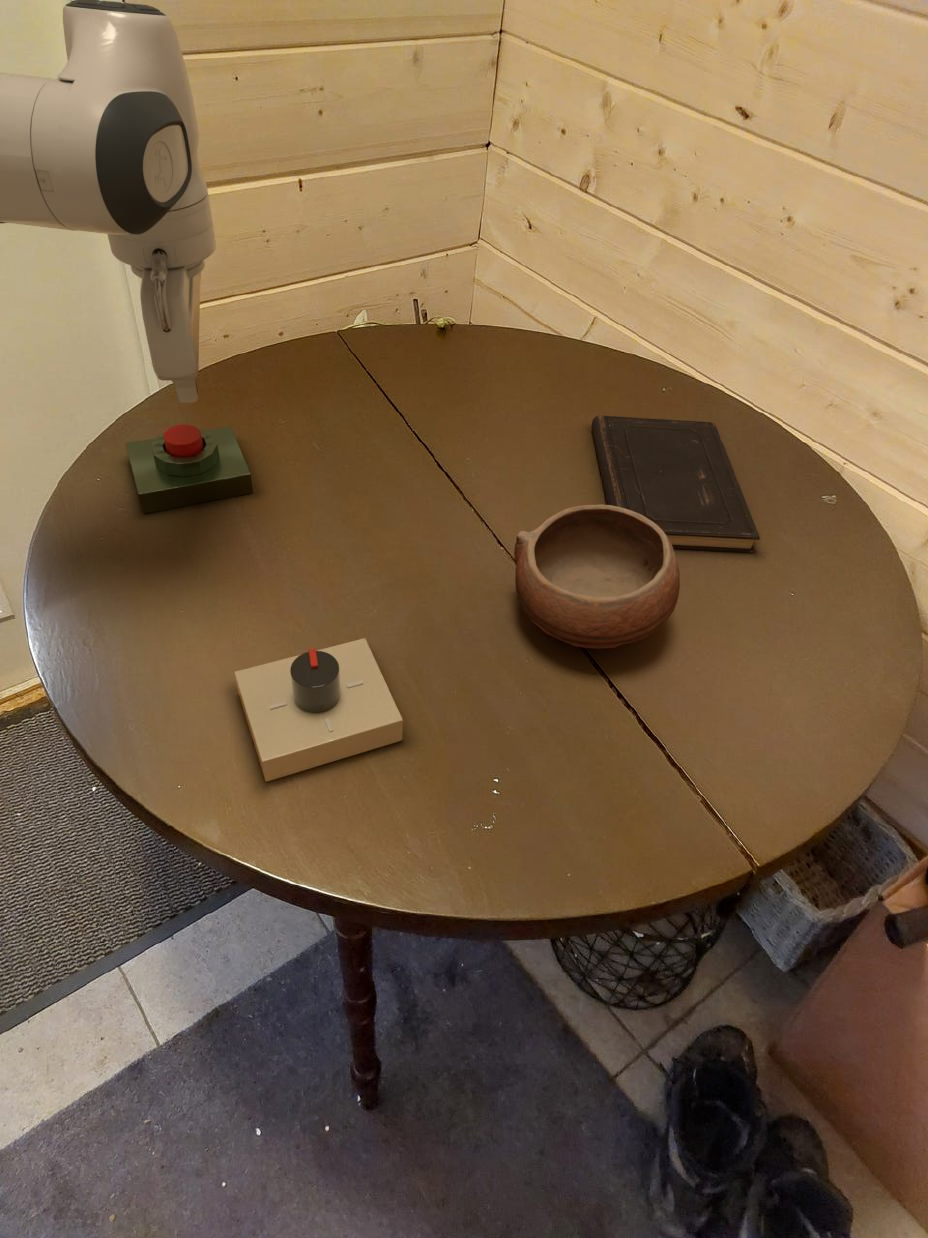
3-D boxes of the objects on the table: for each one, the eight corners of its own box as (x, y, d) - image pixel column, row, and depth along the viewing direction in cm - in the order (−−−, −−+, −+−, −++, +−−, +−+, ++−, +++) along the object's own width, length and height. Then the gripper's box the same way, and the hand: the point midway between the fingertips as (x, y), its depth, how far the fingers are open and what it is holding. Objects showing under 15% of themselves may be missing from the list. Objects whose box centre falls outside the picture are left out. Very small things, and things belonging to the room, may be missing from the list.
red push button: (169, 460, 90) (166, 447, 89) (163, 440, 93) (160, 427, 92) (206, 454, 92) (204, 441, 90) (199, 434, 94) (197, 421, 93)
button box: (143, 514, 90) (134, 480, 87) (130, 462, 96) (121, 429, 93) (253, 493, 94) (248, 460, 91) (233, 444, 100) (228, 412, 97)
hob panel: (265, 782, 68) (261, 760, 66) (238, 693, 74) (233, 670, 72) (402, 740, 72) (403, 718, 70) (365, 659, 78) (365, 636, 76)
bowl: (489, 576, 87) (499, 500, 80) (623, 553, 91) (644, 480, 84) (544, 688, 77) (560, 613, 70) (691, 657, 81) (721, 584, 74)
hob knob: (343, 709, 70) (342, 681, 67) (295, 716, 69) (292, 688, 66) (337, 674, 73) (335, 645, 70) (291, 680, 72) (287, 651, 69)
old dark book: (710, 437, 109) (715, 421, 107) (753, 553, 93) (760, 537, 91) (590, 429, 108) (593, 414, 106) (613, 545, 92) (617, 530, 90)
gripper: (197, 280, 65) (223, 430, 75) (199, 184, 79) (221, 322, 89) (112, 283, 64) (151, 435, 74) (129, 185, 77) (160, 325, 87)
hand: (189, 372), depth 81 cm, fingers open, 8 cm apart
